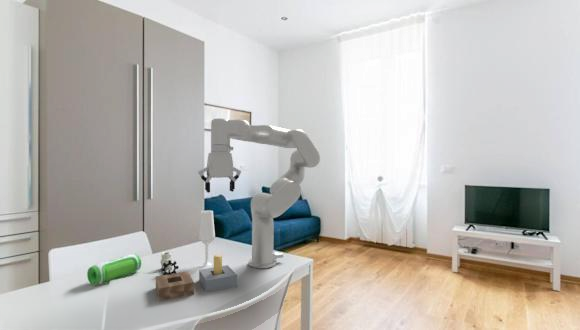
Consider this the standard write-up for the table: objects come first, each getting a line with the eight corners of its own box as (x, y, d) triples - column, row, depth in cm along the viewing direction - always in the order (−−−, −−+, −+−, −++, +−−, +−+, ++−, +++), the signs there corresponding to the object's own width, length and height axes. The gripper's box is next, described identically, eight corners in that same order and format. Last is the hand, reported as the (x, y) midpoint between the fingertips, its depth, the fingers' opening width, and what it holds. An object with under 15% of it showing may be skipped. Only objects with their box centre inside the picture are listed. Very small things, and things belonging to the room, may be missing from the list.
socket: (227, 277, 121) (227, 265, 121) (236, 288, 111) (236, 274, 111) (199, 282, 116) (199, 269, 115) (206, 294, 106) (206, 280, 106)
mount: (188, 284, 114) (188, 271, 114) (194, 297, 104) (194, 282, 104) (155, 290, 108) (155, 276, 108) (158, 304, 99) (158, 288, 99)
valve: (156, 268, 130) (160, 278, 119) (156, 253, 129) (160, 262, 119) (173, 266, 133) (178, 275, 123) (173, 251, 133) (178, 259, 122)
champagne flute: (216, 264, 136) (216, 210, 135) (212, 269, 129) (213, 212, 128) (200, 264, 136) (201, 209, 135) (196, 269, 129) (197, 212, 128)
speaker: (131, 269, 128) (131, 251, 128) (142, 272, 125) (142, 254, 125) (86, 284, 113) (86, 264, 113) (97, 288, 110) (97, 267, 109)
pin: (220, 280, 115) (220, 254, 115) (222, 283, 113) (223, 256, 112) (212, 282, 114) (212, 255, 114) (214, 285, 111) (214, 257, 111)
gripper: (237, 150, 132) (237, 189, 132) (196, 149, 124) (196, 191, 124) (243, 149, 125) (243, 191, 126) (200, 148, 117) (200, 193, 117)
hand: (220, 191), depth 125 cm, fingers open, 9 cm apart
